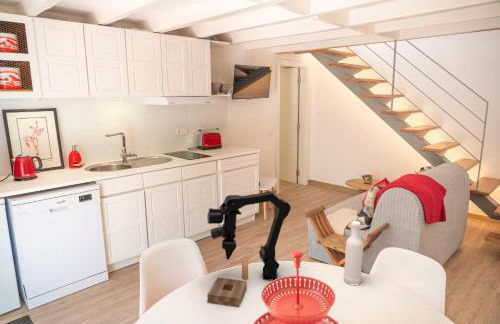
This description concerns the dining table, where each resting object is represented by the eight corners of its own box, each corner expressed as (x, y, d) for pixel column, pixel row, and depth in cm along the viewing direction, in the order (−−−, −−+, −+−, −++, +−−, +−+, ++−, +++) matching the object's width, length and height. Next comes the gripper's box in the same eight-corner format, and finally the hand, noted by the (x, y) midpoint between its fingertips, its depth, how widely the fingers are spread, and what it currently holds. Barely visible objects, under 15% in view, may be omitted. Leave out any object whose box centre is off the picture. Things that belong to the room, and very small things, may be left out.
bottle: (341, 282, 159) (345, 223, 153) (346, 275, 165) (349, 218, 160) (358, 287, 154) (362, 226, 149) (362, 279, 161) (366, 221, 155)
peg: (248, 276, 163) (248, 258, 161) (247, 280, 160) (247, 260, 158) (242, 276, 164) (242, 257, 162) (241, 279, 161) (241, 260, 159)
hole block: (246, 288, 153) (246, 281, 152) (239, 307, 139) (239, 298, 139) (217, 285, 156) (217, 277, 155) (207, 302, 142) (207, 294, 142)
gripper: (212, 215, 161) (210, 245, 163) (211, 229, 142) (209, 263, 145) (235, 216, 162) (233, 246, 164) (237, 231, 144) (234, 264, 146)
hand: (227, 254), depth 155 cm, fingers open, 9 cm apart
